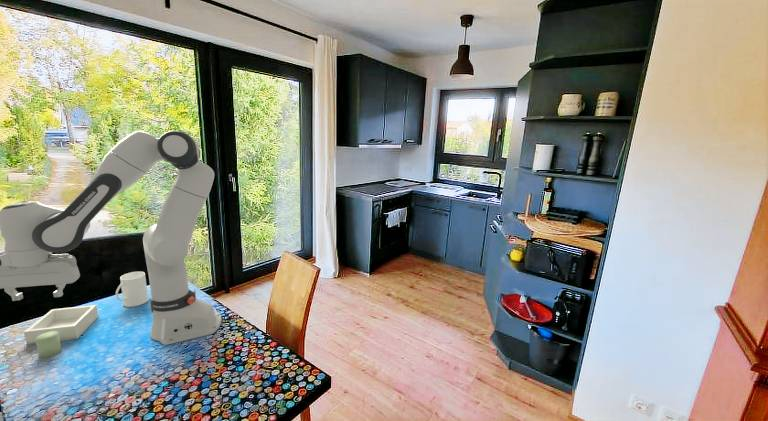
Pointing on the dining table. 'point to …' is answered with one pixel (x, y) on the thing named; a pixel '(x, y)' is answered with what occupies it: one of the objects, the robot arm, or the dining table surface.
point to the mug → (133, 289)
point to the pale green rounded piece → (48, 344)
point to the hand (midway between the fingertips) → (38, 298)
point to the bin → (63, 323)
